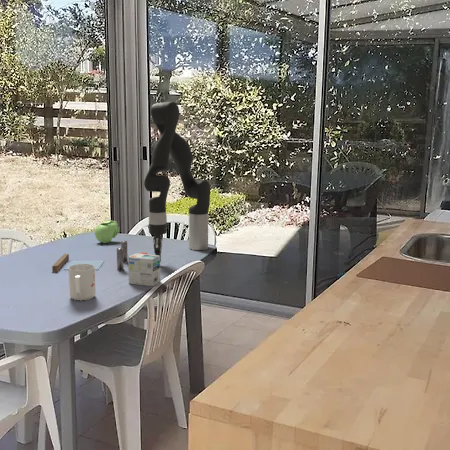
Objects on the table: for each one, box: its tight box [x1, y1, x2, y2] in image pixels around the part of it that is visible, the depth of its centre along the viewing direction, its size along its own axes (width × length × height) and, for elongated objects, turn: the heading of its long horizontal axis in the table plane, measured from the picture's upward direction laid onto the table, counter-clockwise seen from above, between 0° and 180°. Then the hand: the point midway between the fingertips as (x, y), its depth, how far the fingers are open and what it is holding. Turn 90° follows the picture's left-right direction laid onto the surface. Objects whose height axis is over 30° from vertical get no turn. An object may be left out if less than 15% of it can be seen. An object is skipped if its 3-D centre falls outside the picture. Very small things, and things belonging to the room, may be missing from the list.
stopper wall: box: [51, 253, 70, 273], centre depth 243 cm, size 2×20×2 cm, turn 2°
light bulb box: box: [127, 252, 162, 287], centre depth 219 cm, size 11×7×11 cm, turn 71°
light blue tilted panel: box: [63, 260, 105, 271], centre depth 243 cm, size 14×14×1 cm
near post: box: [116, 247, 125, 271], centre depth 237 cm, size 3×3×9 cm
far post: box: [120, 240, 129, 263], centre depth 249 cm, size 3×3×9 cm
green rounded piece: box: [94, 219, 120, 244], centre depth 284 cm, size 12×11×11 cm
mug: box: [68, 264, 97, 302], centre depth 199 cm, size 12×9×11 cm
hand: (158, 262), depth 244 cm, fingers closed
